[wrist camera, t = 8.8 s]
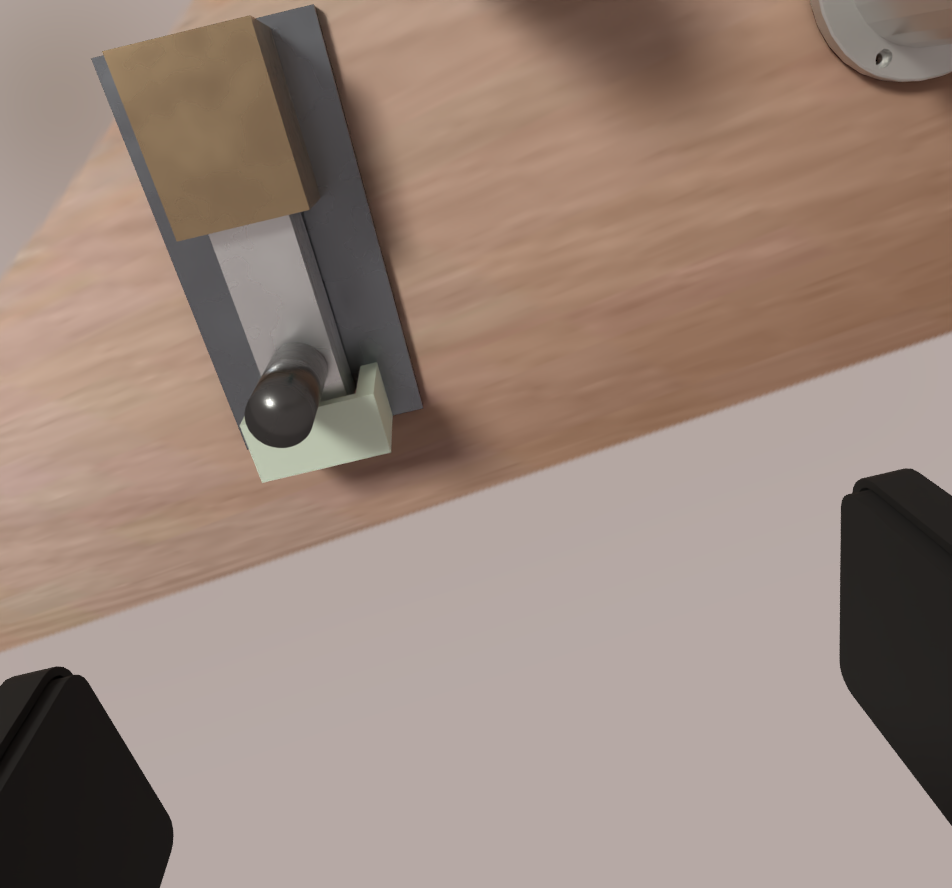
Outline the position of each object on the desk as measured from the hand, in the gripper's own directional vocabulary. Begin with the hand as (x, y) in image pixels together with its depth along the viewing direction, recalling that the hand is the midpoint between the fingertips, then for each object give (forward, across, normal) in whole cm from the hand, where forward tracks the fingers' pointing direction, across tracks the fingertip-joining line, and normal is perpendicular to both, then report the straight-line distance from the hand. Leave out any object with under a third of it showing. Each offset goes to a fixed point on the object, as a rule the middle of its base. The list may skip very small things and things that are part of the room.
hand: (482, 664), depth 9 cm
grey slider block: (+34, +8, +2) cm, 35 cm away
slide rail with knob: (+34, +8, -1) cm, 35 cm away
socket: (+34, +8, +8) cm, 36 cm away
